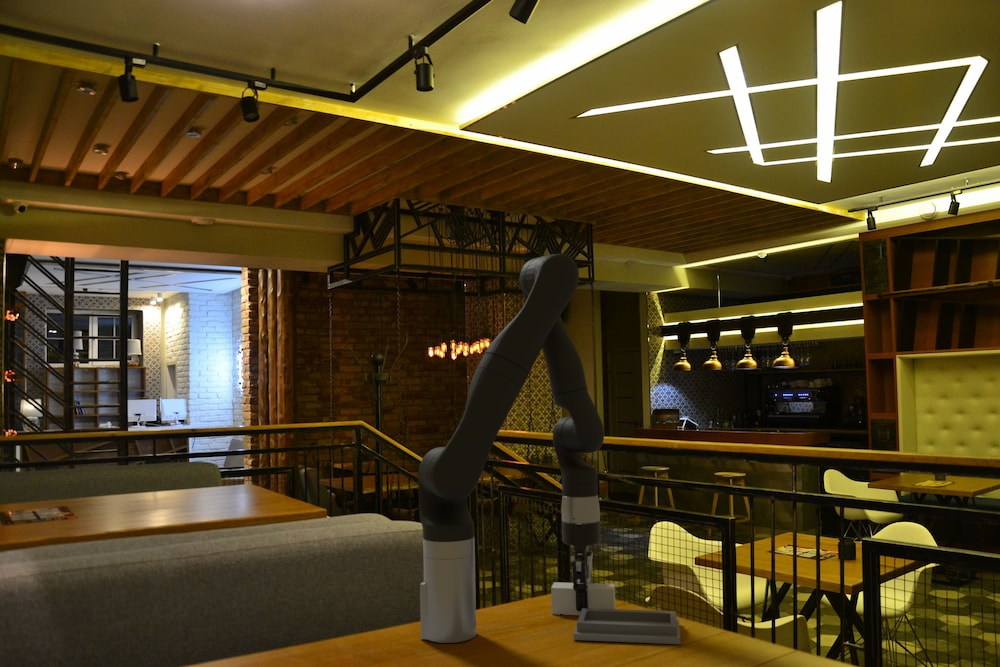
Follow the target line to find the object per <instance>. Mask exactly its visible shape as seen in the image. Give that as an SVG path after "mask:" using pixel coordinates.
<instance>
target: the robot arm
mask: <svg viewBox="0 0 1000 667" xmlns="http://www.w3.org/2000/svg"><path fill="white" fill-rule="evenodd" d="M579 272H580V270H579V267H578V265H577V263H576V261H575V260H574V259H573V258H572V257H571V256H569V255H567V254H562V253H552V254H548V255H542V256H538V257H536V258H535V257H534V258H532V259H530V260H528V261H527V262H525V264H524V265H523V266H522V268H521V270H520V272H519V284H520V289H521V292H522V295H523V297H524V301H525V303H523V306H522V308H521V309H520V310H519V312H518V313H517V314H516V315H515V317H514V318H513V319H512V320H511V321H510V322H509V323H508V324H507V325H506V326H505V327H504V328H503V329H502V330H501V331H500V332H499V334H498V335H497V336H496V337H495V338H494V339H493V340H492V341H491V343H490V344H489V346H488V347H487V349H486V350H485V352H484V353H483V356H482V357H481V359H480V361H479V363H478V365H477V367H476V369H475V372H474V373H473V375H472V379H471V381H470V385H469V389H468V393H467V399H466V403H465V408H464V412H463V415H462V417H461V420H460V422H459V424H458V426H457V427H456V430H455V431H454V433H453V435H451V436H452V437H451V438H450V440H448V443H447V444H446V446H437V447H435V448H432V449H431V450H429V451H428V452H427V453H425V455H424V456H423V458H422V459H421V460H420V464H419V468H418V475H417V476H418V477H417V478H418V479H417V480H418V481H417V484H418V486H417V487H418V507H419V509H418V510H419V512H418V513H419V519H420V524H421V527H422V543H423V544H422V549H423V552H422V553H423V556H422V557H423V581H422V582H421V583H420V585H419V586H420V587H419V594H420V595H419V598H420V599H419V600H420V605H419V608H420V611H419V613H420V640H427V641H430V642H434V643H440V644H453V643H462V642H466V641H468V640H472V639H473V638H475V637H476V636H477V612H476V610H477V607H476V606H477V605H476V604H477V603H476V602H477V601H476V553H475V552H476V551H475V550H476V549H475V522H474V520H473V518H472V516H471V514H470V511H469V508H468V497H469V495H470V494H471V493H472V492H474V490H475V488H476V487H477V485H478V483H479V481H480V478H481V477H482V474H483V471H484V468H485V465H486V463H487V459H488V458H489V455H490V452H491V450H492V447H493V445H494V442H495V440H496V438H497V436H498V434H499V432H500V430H501V428H502V426H503V425H504V423H505V421H506V419H507V417H508V416H509V413H510V412H511V409H512V407H513V405H514V404H515V402H516V400H517V398H518V397H519V395H520V393H521V391H522V389H523V387H524V386H525V383H526V381H527V379H528V377H529V375H530V373H531V371H532V369H533V366H534V364H535V362H536V361H537V358H538V357H539V354H541V351H542V352H543V356H544V360H545V365H546V369H547V375H548V380H549V385H550V389H551V394H552V398H553V402H554V404H555V406H557V407H559V408H562V409H564V410H566V411H567V412H568V413H569V416H564V417H561V418H560V419H558V421H556V423H555V425H554V426H553V430H552V444H553V448H554V454H555V457H556V459H557V463H558V466H559V469H560V473H561V492H562V493H561V494H562V498H561V508H560V509H561V536H562V538H561V541H562V543H563V544H565V545H568V546H573V548H574V549H573V551H572V553H571V554H570V562H571V576H572V583H573V588H574V590H575V591H576V610H577V611H581V610H582V608H588V593H587V592H588V583H592V576H593V575H592V573H593V559H594V558H593V556H594V555H593V551H592V549H591V547H590V546H596V545H598V544H600V543H601V539H602V538H601V516H600V515H601V510H600V502H599V491H598V490H599V489H598V486H599V485H598V473H597V472H598V471H597V469H596V468H595V467H594V466H593V465H592V464H588V463H586V462H585V461H584V458H583V456H582V453H585V454H592V453H596V452H597V451H599V450H600V449H601V448H602V445H603V444H604V442H605V441H604V440H605V428H604V423H603V422H602V419H601V417H600V415H599V412H598V411H597V408H596V406H595V403H594V401H593V399H592V397H591V396H590V393H589V390H588V386H587V380H586V375H585V370H584V365H583V363H582V360H581V356H580V354H579V352H578V350H577V348H576V346H575V344H574V342H573V341H572V339H571V338H570V335H569V334H568V332H567V330H566V328H565V325H564V323H563V320H562V316H561V314H562V313H563V312H564V310H565V309H566V307H567V305H568V303H570V301H571V299H572V298H573V296H574V294H575V293H576V290H577V287H578V285H579V280H580V273H579ZM578 583H584V584H578Z"/></svg>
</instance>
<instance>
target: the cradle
mask: <svg viewBox="0 0 1000 667" xmlns="http://www.w3.org/2000/svg"><path fill="white" fill-rule="evenodd" d="M676 612H677V611H675V610H674V611H673V610H647V609H646V610H645V609H644V610H643V609H621V608H620V609H619V608H618V609H617V608H615V609H590V608H582V610H581V613H580V615H578V619H577V621H576V625H575V628H574V631H573V641H592V642H593V641H594V642H595V641H596V642H618V643H619V642H622V643H640V644H642V643H645V644H663V645H665V644H666V645H681V644H682V643H681V630H680V621H679V617H677V615H676V614H677V613H676Z"/></svg>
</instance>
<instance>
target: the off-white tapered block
mask: <svg viewBox="0 0 1000 667" xmlns="http://www.w3.org/2000/svg"><path fill="white" fill-rule="evenodd" d="M578 584H584V583H578ZM550 588H551V589H550V594H551V597H550V598H551V615H560V614H563V615H565V616H569V615H570V616H579V615H580V613H581V611H577V610H576V591H575V590H574V588H573V582H559V581H558V582H556V581H555V582H553V584H552V586H551V587H550ZM615 588H616V584H615V583H592V582H590V583H588V592H587V593H588V608H590V609H616V589H615ZM563 615H562V616H563Z"/></svg>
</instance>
